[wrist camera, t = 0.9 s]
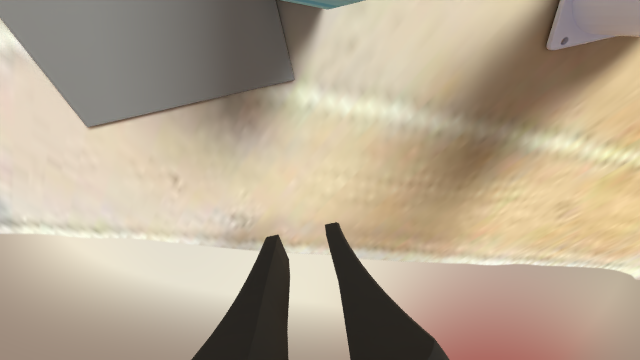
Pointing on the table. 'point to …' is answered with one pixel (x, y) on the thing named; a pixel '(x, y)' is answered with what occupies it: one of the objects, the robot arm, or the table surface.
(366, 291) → the robot arm
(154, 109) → the mat
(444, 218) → the table surface
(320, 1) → the blue product box
